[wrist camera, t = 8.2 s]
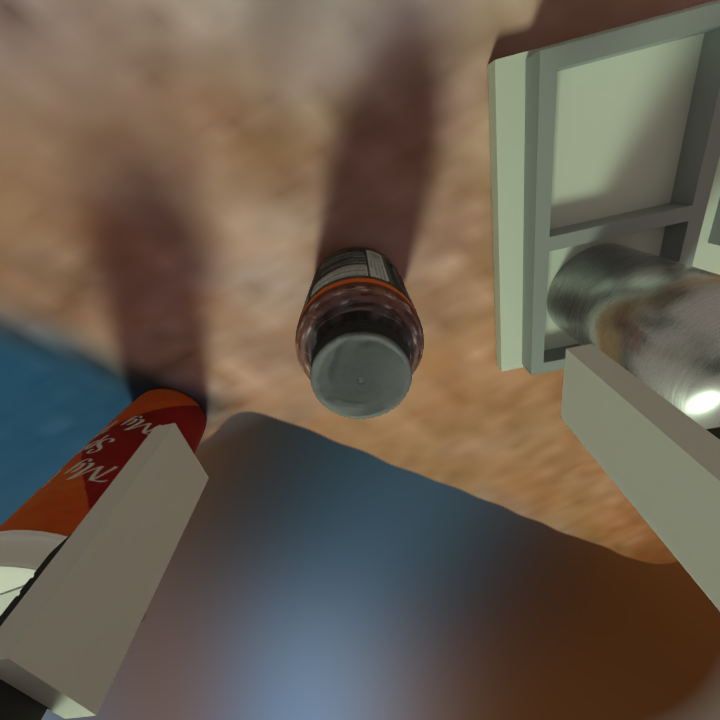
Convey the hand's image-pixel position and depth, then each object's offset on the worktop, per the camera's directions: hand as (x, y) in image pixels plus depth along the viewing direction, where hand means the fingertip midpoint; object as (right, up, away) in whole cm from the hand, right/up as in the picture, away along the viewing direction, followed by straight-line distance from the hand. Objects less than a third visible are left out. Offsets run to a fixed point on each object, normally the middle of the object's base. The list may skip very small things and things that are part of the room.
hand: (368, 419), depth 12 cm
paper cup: (-16, -2, +16) cm, 23 cm away
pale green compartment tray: (+17, +11, +9) cm, 22 cm away
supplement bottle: (0, +7, +12) cm, 13 cm away
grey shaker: (+15, +7, +11) cm, 19 cm away
